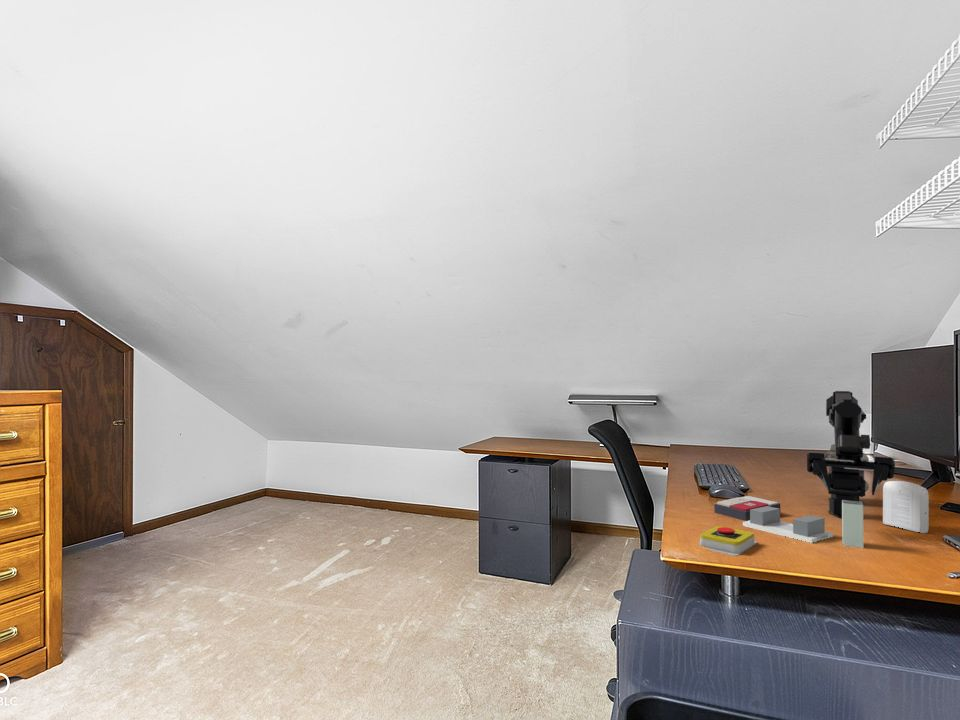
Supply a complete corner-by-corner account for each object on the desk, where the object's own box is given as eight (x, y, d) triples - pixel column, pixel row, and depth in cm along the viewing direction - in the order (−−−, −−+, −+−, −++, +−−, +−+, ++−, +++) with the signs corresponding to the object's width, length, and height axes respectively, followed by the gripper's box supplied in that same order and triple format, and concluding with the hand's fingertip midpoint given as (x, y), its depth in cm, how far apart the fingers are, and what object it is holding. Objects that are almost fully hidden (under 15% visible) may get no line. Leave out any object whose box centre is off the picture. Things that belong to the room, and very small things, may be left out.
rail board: (742, 525, 152) (742, 508, 152) (764, 520, 157) (764, 504, 157) (811, 543, 136) (811, 524, 136) (833, 537, 142) (832, 518, 142)
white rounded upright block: (932, 532, 146) (931, 484, 147) (922, 534, 145) (921, 485, 145) (889, 522, 156) (889, 477, 156) (880, 524, 154) (879, 478, 154)
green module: (842, 541, 138) (841, 500, 139) (862, 543, 136) (861, 502, 137) (843, 545, 135) (842, 503, 135) (863, 548, 133) (863, 505, 133)
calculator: (713, 501, 166) (747, 493, 173) (713, 515, 166) (748, 507, 173) (746, 509, 157) (780, 501, 163) (746, 524, 157) (781, 516, 164)
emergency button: (695, 530, 133) (720, 518, 144) (695, 549, 133) (720, 536, 144) (736, 538, 126) (758, 526, 137) (736, 558, 126) (759, 544, 137)
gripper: (806, 421, 150) (807, 468, 140) (893, 424, 141) (900, 476, 131) (806, 448, 157) (807, 495, 147) (889, 453, 147) (896, 503, 137)
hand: (850, 492), depth 140 cm, fingers open, 9 cm apart
